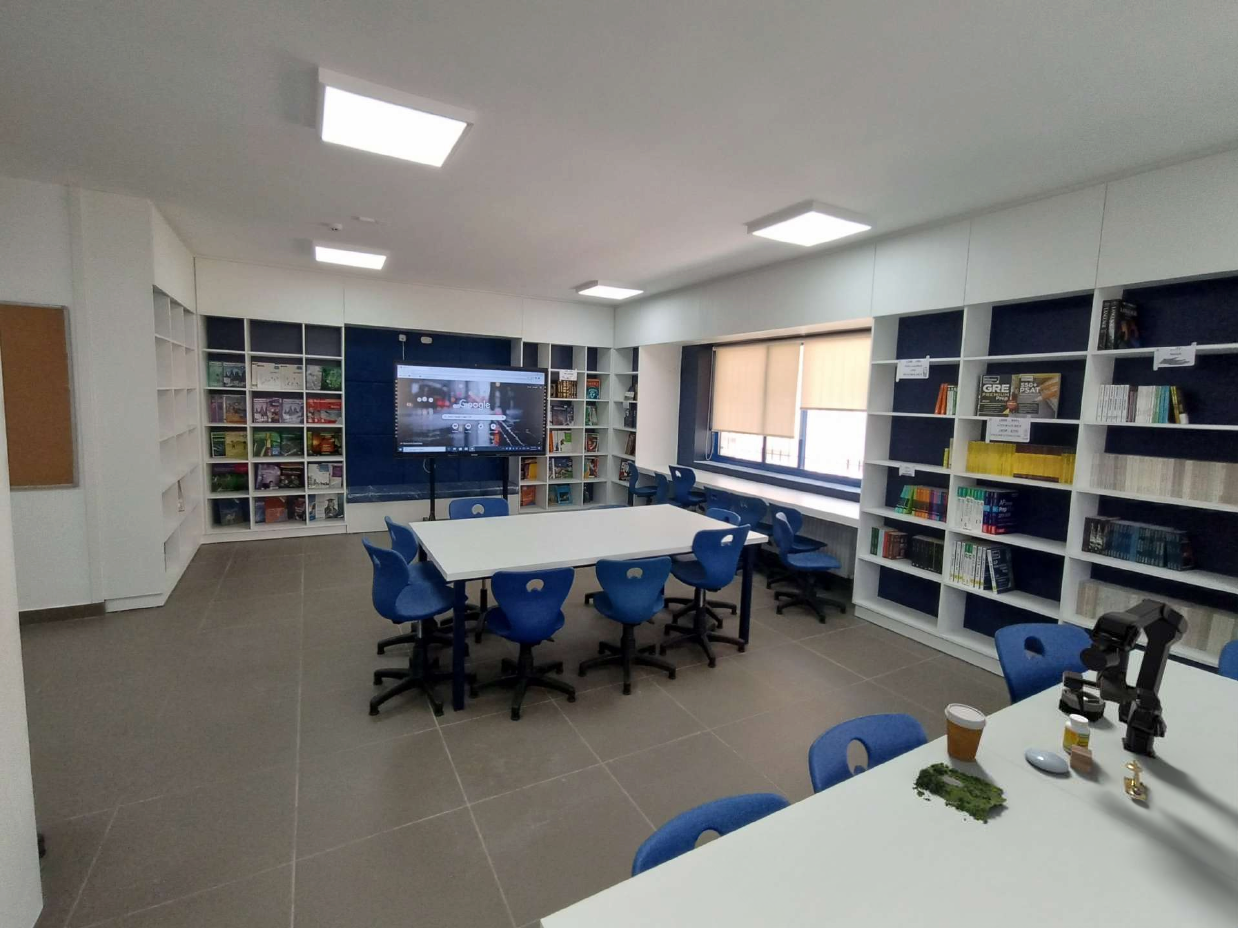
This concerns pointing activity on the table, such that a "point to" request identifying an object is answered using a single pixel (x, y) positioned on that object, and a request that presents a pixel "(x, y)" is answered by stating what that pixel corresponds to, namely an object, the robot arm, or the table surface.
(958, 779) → the landscape model
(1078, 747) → the walnut block
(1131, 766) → the brass balance
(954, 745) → the disposable coffee cup
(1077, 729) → the supplement bottle
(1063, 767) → the light blue dish
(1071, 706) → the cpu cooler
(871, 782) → the table surface
